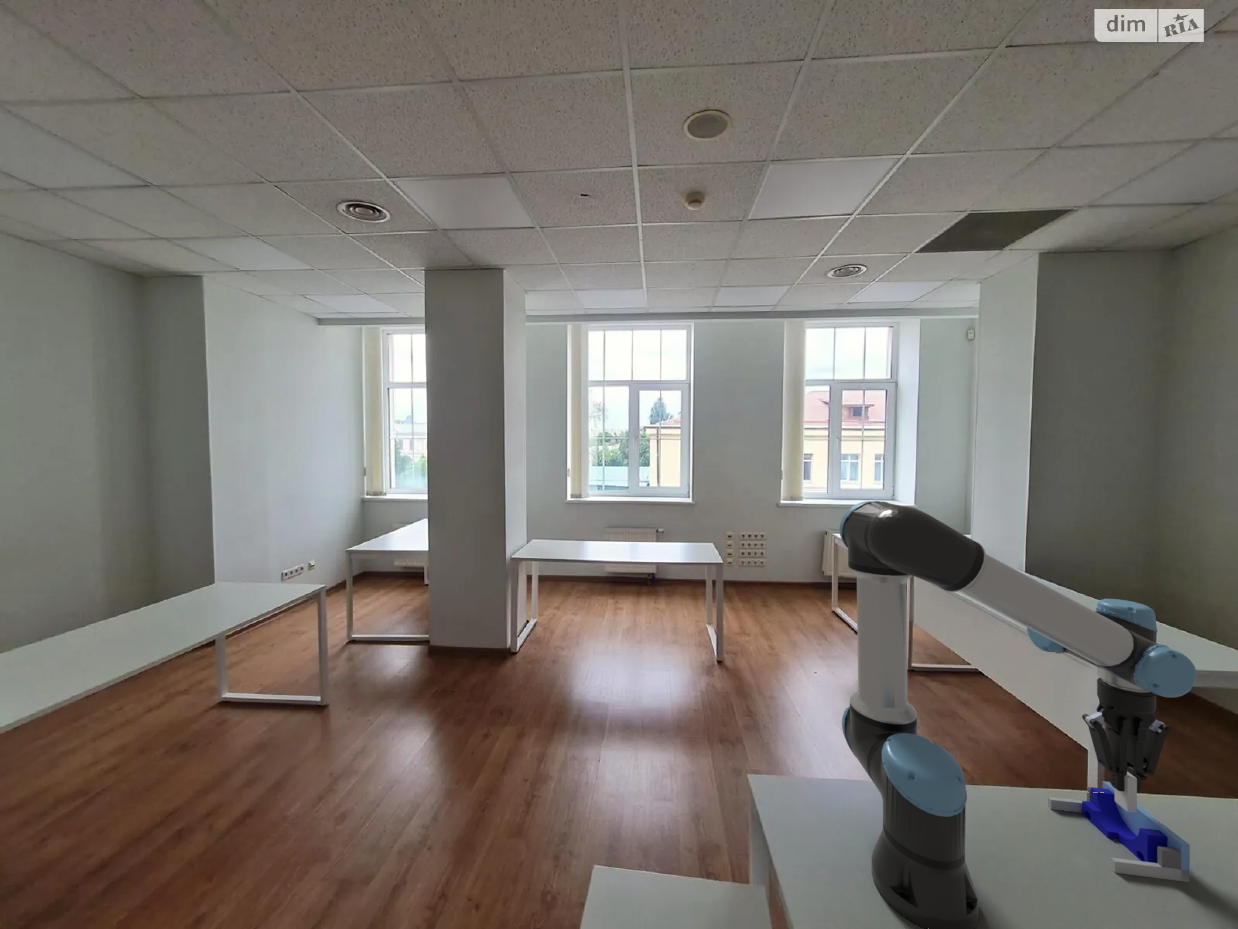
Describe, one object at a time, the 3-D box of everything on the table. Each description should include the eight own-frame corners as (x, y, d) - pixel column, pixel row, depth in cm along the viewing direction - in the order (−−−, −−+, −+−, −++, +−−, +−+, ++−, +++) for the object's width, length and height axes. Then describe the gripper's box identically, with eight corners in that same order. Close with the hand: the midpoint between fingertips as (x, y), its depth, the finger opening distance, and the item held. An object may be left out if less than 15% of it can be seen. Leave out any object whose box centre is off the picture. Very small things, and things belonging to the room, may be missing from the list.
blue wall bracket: (1114, 872, 81) (1114, 836, 81) (1048, 806, 96) (1048, 775, 96) (1189, 882, 79) (1189, 845, 79) (1109, 813, 94) (1109, 781, 94)
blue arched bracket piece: (1082, 815, 94) (1082, 786, 94) (1107, 818, 93) (1107, 789, 93) (1137, 866, 82) (1137, 833, 82) (1167, 870, 81) (1167, 837, 81)
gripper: (1102, 691, 84) (1102, 818, 84) (1187, 696, 82) (1187, 827, 82) (1070, 672, 91) (1070, 789, 92) (1147, 677, 89) (1146, 796, 89)
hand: (1125, 806), depth 87 cm, fingers closed
